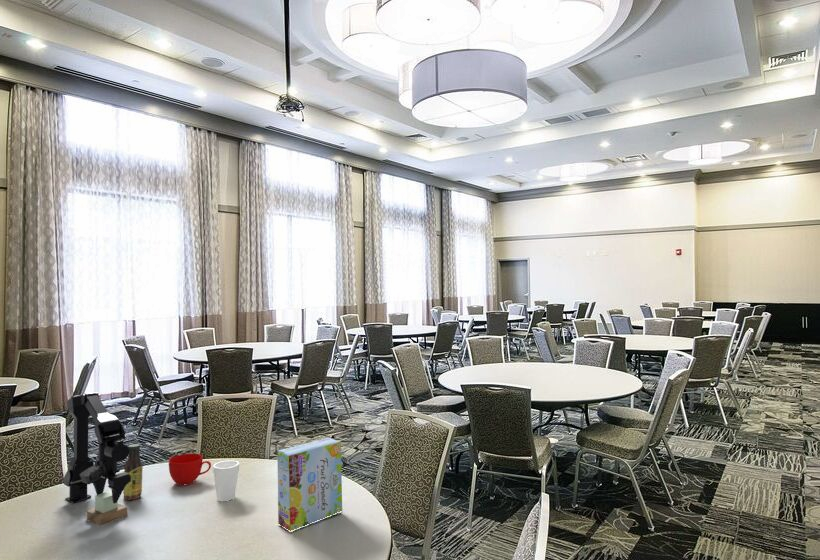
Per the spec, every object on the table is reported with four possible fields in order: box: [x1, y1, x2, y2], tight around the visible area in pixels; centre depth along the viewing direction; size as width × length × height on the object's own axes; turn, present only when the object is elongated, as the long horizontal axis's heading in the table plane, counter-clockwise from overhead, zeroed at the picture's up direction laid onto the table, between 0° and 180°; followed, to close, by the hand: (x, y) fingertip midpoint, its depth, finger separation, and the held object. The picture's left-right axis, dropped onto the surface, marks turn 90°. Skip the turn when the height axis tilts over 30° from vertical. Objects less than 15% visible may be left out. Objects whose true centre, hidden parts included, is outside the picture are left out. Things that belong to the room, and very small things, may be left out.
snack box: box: [276, 437, 343, 531], centre depth 178 cm, size 22×9×26 cm, turn 134°
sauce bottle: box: [122, 443, 144, 501], centre depth 197 cm, size 7×6×20 cm
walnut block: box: [86, 503, 128, 527], centre depth 179 cm, size 9×9×4 cm
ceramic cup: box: [168, 453, 212, 486], centre depth 212 cm, size 13×17×10 cm
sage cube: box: [94, 490, 119, 513], centre depth 179 cm, size 5×5×5 cm
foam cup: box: [212, 459, 240, 503], centre depth 196 cm, size 10×9×13 cm
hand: (107, 500), depth 179 cm, fingers open, 9 cm apart
